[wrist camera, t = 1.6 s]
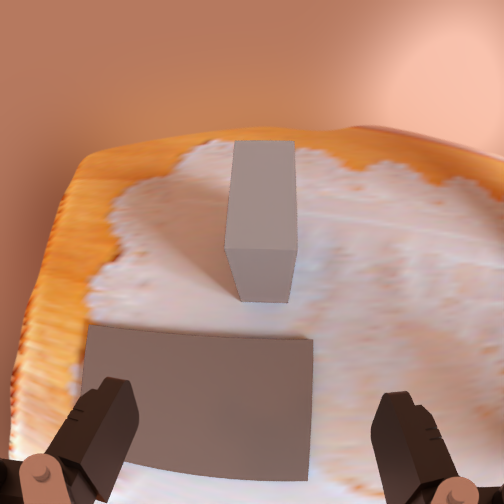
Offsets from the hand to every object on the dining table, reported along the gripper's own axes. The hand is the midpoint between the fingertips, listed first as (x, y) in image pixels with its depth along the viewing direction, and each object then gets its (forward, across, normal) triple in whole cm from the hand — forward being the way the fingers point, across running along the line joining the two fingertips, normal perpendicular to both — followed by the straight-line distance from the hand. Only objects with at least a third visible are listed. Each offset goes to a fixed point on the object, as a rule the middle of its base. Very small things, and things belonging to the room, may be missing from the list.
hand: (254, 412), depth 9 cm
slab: (+21, 0, +2) cm, 21 cm away
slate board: (+12, +6, +12) cm, 18 cm away
